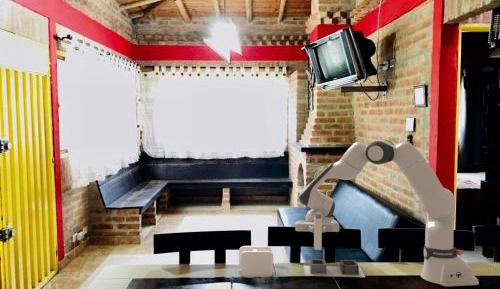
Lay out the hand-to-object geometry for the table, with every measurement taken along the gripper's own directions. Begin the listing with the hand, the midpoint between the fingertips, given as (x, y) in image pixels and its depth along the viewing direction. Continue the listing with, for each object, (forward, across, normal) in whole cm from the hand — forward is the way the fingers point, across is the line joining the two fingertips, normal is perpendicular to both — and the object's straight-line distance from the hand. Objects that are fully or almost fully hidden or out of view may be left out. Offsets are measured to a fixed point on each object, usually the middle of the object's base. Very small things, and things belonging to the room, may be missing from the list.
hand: (318, 230), depth 185 cm
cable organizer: (+2, -28, +20) cm, 34 cm away
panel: (-1, +7, +20) cm, 21 cm away
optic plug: (-1, 0, +8) cm, 9 cm away
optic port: (-1, 0, +19) cm, 19 cm away
